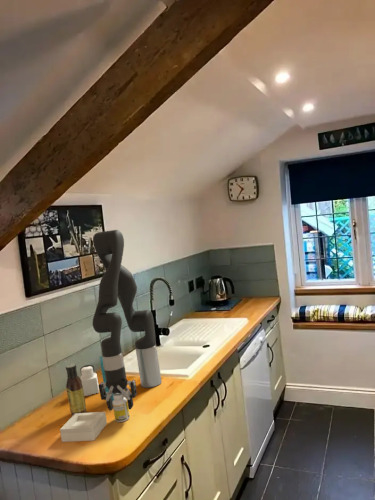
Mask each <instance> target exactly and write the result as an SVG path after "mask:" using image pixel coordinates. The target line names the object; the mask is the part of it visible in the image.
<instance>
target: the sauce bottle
mask: <svg viewBox="0 0 375 500" xmlns="http://www.w3.org/2000/svg"><path fill="white" fill-rule="evenodd" d="M65 370H66V374H67V375H66V376H67V379H66V385H65V388H66V394H67V399H68V401H67V402H68V406H69V411H70V414H71V415H72V416H73V415H74V414H75V413H87V405H86V399H85V397H86V396H84V392H83V386H82V381H81V377H80V376H78V371H77V364H76V363H70V364H67V365H66V366H65Z"/></svg>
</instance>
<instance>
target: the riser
mask: <svg viewBox="0 0 375 500" xmlns="http://www.w3.org/2000/svg"><path fill="white" fill-rule="evenodd" d="M106 415H107V414H106V411H95V412H85V413H75V414H74V415H72V416H71V417H70V418H69V419H68V421H67V422H65V424H63V426H62V427H61V428H59V431H60V438H61V443H66V442H67V443H68V442H85V441H86V442H90V441H92V442H93V441H95V440H96V439H97V438H98V437H99V435H100V434H101V432H102V431H103V430H104V428H106V425H108V421H107V416H106Z"/></svg>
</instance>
